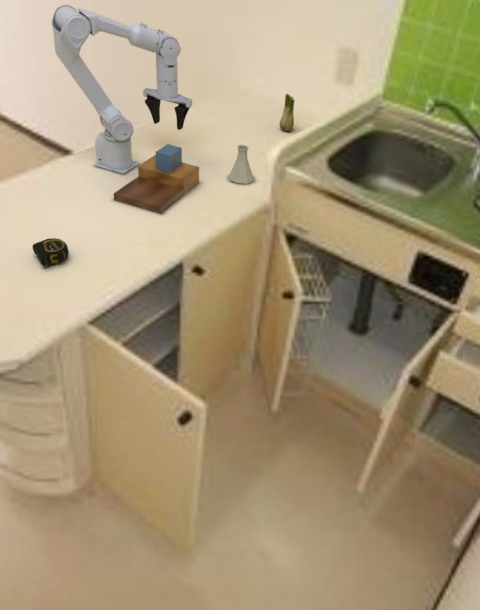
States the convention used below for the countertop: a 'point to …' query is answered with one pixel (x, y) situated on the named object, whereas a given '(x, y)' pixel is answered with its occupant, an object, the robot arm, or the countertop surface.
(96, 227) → the countertop surface
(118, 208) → the countertop surface
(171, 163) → the blue box
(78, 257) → the countertop surface
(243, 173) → the flask
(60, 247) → the tape measure
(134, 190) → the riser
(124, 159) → the robot arm
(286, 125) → the fennel bulb
